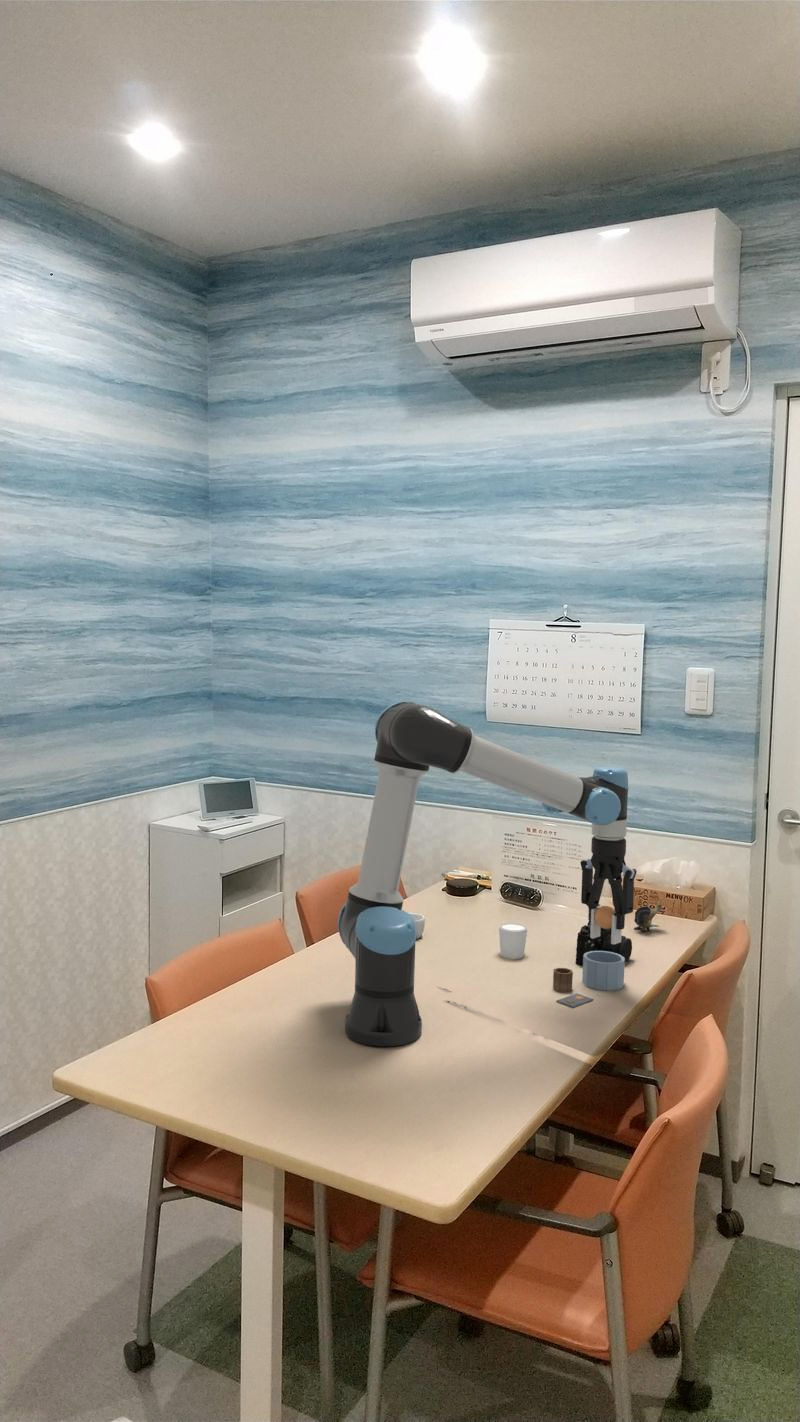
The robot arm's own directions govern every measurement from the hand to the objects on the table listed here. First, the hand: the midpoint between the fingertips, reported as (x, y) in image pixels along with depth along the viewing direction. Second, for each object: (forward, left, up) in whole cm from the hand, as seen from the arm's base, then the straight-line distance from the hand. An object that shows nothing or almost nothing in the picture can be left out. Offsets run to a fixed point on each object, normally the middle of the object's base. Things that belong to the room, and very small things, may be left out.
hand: (605, 939), depth 220 cm
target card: (-14, -3, -10) cm, 18 cm away
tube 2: (0, 0, -10) cm, 10 cm away
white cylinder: (-1, +26, -10) cm, 28 cm away
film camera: (+14, +10, -10) cm, 20 cm away
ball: (0, 0, +5) cm, 5 cm away
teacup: (-12, +52, -10) cm, 54 cm away
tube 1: (-10, +4, -10) cm, 15 cm away
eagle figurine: (+39, +15, -10) cm, 43 cm away
